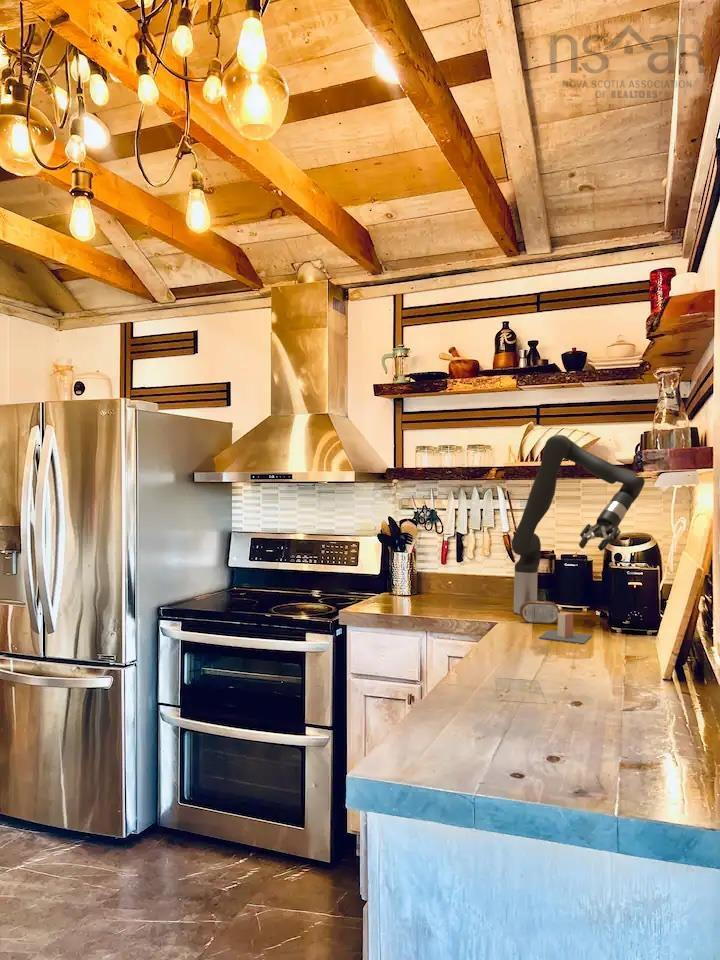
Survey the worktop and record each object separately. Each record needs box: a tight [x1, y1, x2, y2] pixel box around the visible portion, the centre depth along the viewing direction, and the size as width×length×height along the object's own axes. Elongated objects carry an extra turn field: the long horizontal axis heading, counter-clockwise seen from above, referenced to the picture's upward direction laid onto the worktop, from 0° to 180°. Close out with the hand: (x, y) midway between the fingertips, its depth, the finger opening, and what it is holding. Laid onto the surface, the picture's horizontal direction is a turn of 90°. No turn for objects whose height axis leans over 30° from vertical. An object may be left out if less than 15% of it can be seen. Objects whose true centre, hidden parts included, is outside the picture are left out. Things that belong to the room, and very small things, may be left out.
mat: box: [538, 629, 593, 645], centre depth 239 cm, size 14×15×1 cm
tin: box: [519, 600, 561, 625], centre depth 263 cm, size 15×3×8 cm, turn 84°
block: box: [557, 611, 574, 638], centre depth 239 cm, size 3×4×8 cm
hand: (590, 548), depth 248 cm, fingers open, 8 cm apart
